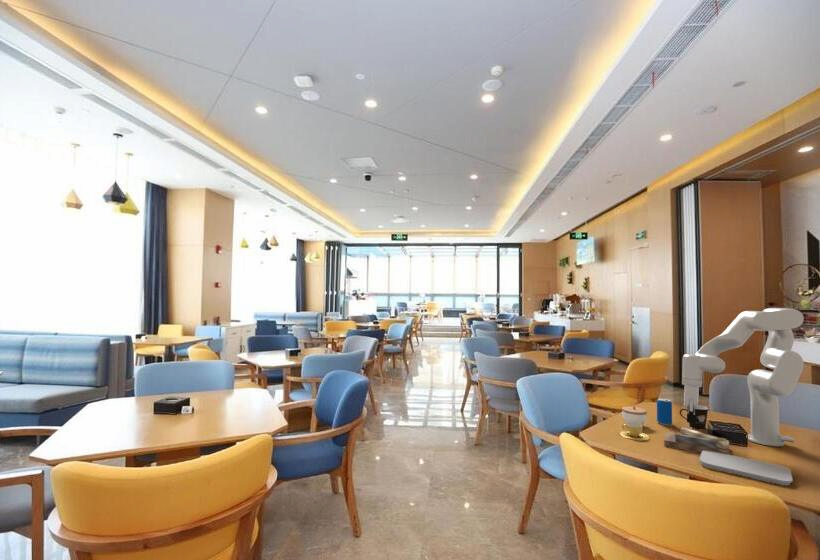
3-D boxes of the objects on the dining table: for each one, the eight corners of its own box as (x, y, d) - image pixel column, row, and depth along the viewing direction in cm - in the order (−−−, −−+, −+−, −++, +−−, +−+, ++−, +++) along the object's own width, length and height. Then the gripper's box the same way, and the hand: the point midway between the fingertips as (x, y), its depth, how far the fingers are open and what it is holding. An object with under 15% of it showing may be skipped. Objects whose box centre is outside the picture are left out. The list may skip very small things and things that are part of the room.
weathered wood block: (727, 448, 170) (727, 435, 171) (729, 458, 160) (729, 444, 160) (666, 437, 183) (666, 424, 183) (664, 445, 172) (664, 433, 173)
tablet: (702, 454, 165) (702, 449, 165) (790, 473, 148) (789, 467, 148) (698, 467, 152) (698, 461, 152) (793, 489, 135) (793, 482, 135)
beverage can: (674, 426, 199) (674, 401, 199) (660, 425, 200) (659, 400, 201) (668, 422, 205) (668, 398, 206) (654, 421, 206) (654, 397, 207)
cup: (652, 436, 185) (652, 424, 185) (646, 443, 176) (645, 430, 176) (623, 430, 193) (623, 418, 193) (616, 436, 184) (616, 424, 184)
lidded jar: (621, 426, 198) (621, 406, 198) (622, 420, 207) (622, 402, 208) (646, 430, 193) (646, 410, 193) (647, 424, 202) (646, 405, 202)
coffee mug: (707, 426, 199) (707, 406, 199) (709, 431, 191) (708, 410, 192) (679, 422, 205) (679, 402, 205) (679, 427, 198) (679, 406, 198)
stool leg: (729, 448, 163) (728, 439, 163) (724, 449, 162) (724, 440, 162) (684, 434, 179) (684, 426, 179) (680, 435, 178) (680, 427, 178)
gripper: (682, 378, 191) (681, 417, 191) (681, 383, 179) (680, 424, 179) (702, 380, 187) (701, 420, 186) (702, 386, 175) (701, 428, 174)
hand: (691, 422), depth 182 cm, fingers closed
